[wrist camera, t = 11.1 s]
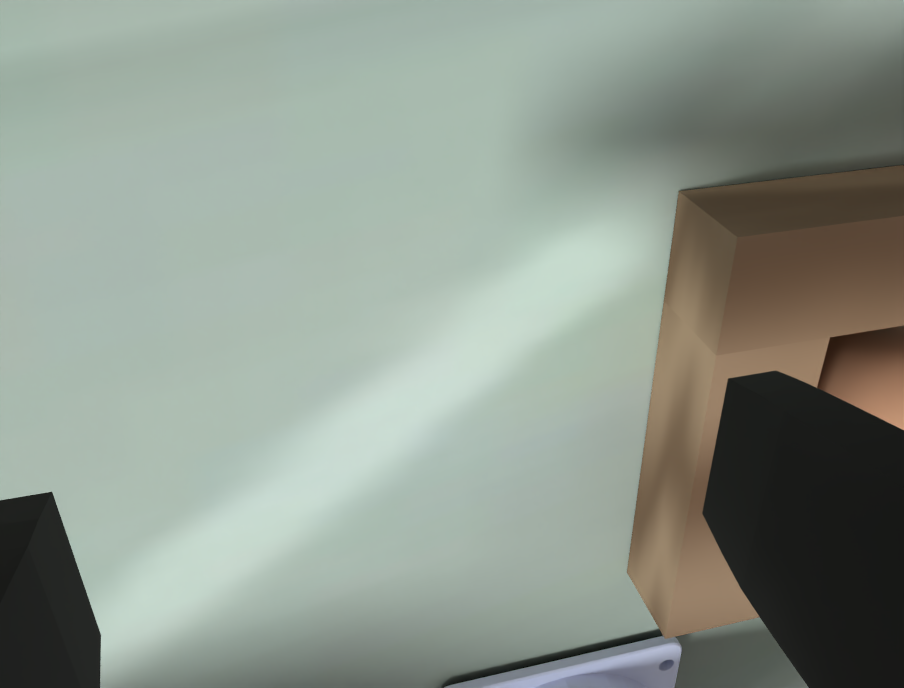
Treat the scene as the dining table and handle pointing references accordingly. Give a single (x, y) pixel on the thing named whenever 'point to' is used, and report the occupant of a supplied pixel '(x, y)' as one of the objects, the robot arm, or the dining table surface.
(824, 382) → the terracotta peg
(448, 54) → the dining table surface
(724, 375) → the keyhole board
